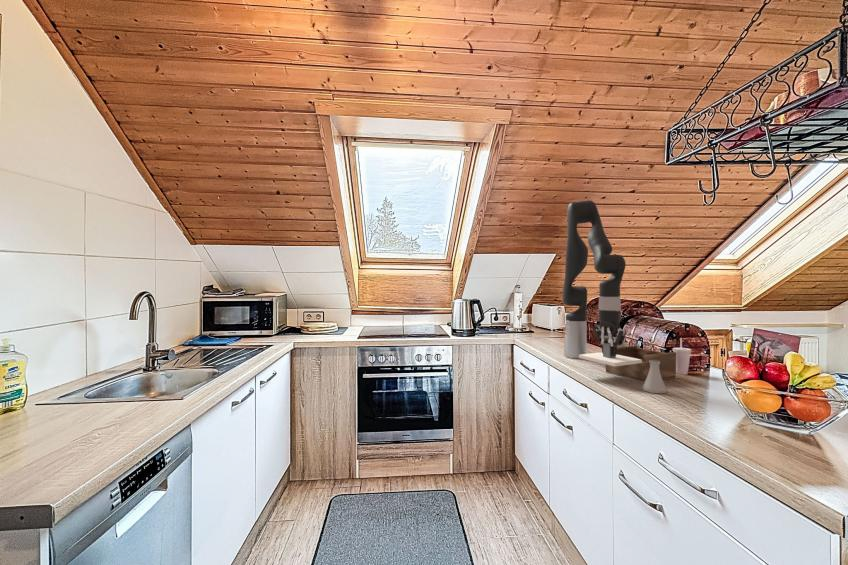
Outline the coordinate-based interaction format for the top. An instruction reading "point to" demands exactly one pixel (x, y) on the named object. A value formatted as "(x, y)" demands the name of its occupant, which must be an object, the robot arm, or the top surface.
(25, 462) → the top surface
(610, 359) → the lid
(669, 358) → the walnut box
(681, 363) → the smoothie
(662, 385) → the flask
